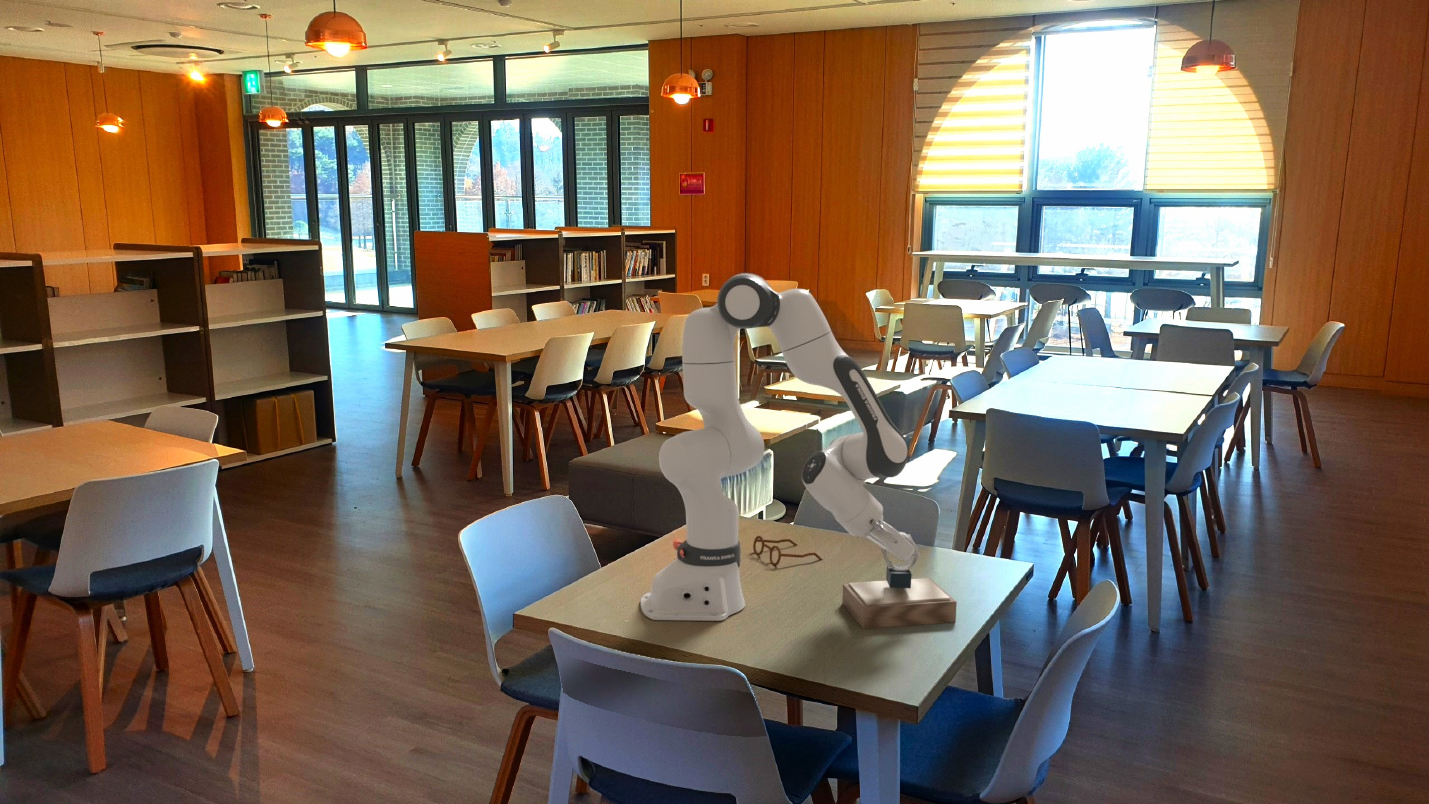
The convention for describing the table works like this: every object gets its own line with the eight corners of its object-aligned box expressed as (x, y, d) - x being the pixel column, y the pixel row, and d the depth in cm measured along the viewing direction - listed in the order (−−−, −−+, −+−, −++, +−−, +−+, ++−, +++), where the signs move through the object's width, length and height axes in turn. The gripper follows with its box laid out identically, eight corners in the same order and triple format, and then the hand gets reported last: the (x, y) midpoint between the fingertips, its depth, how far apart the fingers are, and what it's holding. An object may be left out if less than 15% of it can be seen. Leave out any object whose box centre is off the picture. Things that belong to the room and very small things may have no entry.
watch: (920, 588, 212) (923, 537, 210) (881, 587, 212) (884, 536, 210) (915, 579, 217) (918, 530, 215) (877, 578, 217) (880, 528, 215)
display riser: (863, 628, 207) (863, 605, 206) (842, 603, 220) (842, 581, 219) (955, 622, 210) (956, 599, 209) (929, 597, 224) (930, 576, 223)
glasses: (751, 553, 255) (752, 534, 254) (796, 546, 260) (797, 527, 260) (777, 569, 243) (777, 549, 242) (823, 561, 249) (824, 542, 248)
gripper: (895, 517, 199) (937, 560, 204) (850, 491, 218) (890, 531, 223) (873, 541, 199) (916, 583, 203) (831, 512, 218) (870, 552, 222)
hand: (902, 556), depth 213 cm, fingers closed on watch, 4 cm apart
